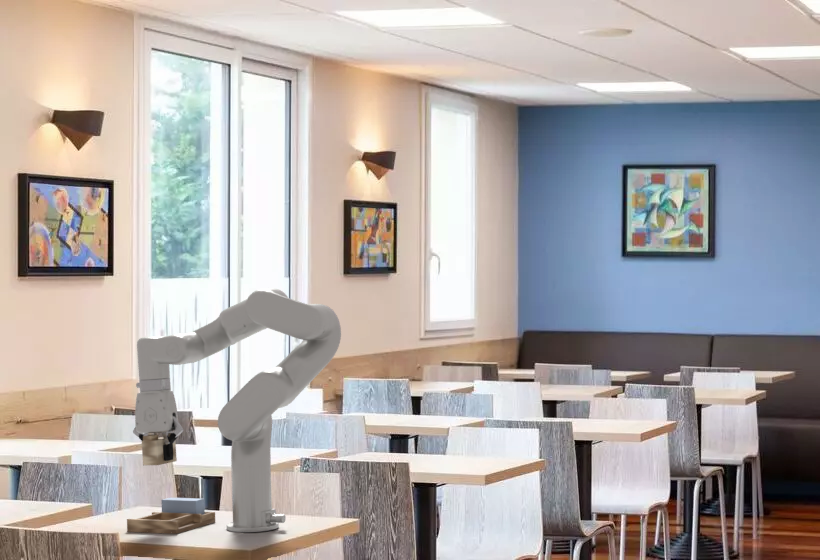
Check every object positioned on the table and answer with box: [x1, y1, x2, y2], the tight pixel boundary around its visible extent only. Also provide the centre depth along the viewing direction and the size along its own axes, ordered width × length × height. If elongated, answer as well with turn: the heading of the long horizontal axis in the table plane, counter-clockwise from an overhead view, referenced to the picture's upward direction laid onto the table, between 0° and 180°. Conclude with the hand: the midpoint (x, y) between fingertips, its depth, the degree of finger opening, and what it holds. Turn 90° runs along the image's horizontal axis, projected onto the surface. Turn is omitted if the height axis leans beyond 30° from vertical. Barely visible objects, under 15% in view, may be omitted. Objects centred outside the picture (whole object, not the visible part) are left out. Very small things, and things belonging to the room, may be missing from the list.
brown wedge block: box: [141, 434, 178, 466], centre depth 354 cm, size 4×9×7 cm, turn 155°
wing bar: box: [161, 497, 206, 515], centre depth 359 cm, size 10×4×5 cm, turn 67°
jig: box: [126, 511, 216, 535], centre depth 354 cm, size 14×18×3 cm
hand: (159, 459), depth 354 cm, fingers closed on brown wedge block, 4 cm apart
